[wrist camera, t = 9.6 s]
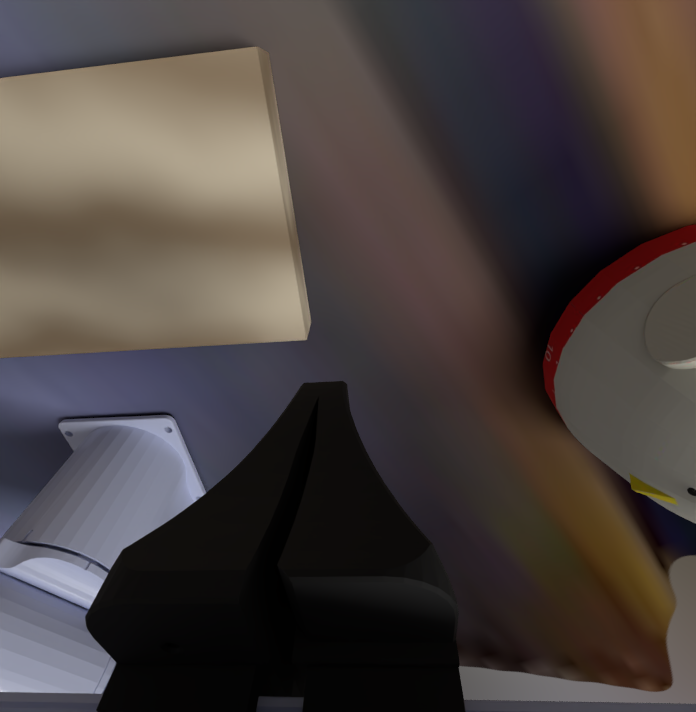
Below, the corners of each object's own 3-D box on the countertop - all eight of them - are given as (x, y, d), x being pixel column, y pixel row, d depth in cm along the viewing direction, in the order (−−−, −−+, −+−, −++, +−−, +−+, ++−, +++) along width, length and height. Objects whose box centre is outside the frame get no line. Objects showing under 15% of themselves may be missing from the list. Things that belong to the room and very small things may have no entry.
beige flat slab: (311, 321, 22) (306, 339, 20) (-19, 342, 24) (-48, 360, 22) (268, 52, 16) (256, 46, 14) (-179, 106, 17) (-237, 107, 16)
